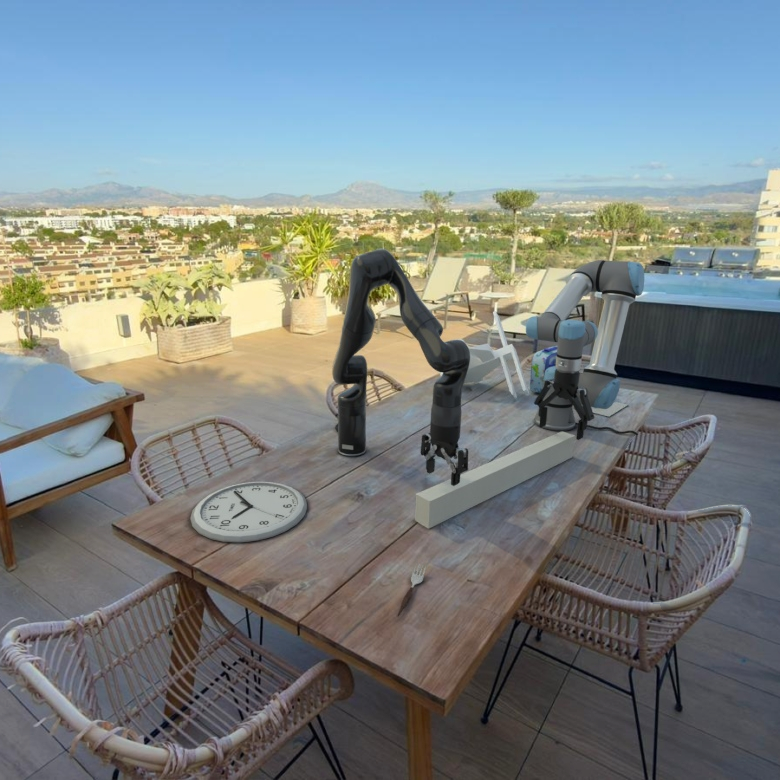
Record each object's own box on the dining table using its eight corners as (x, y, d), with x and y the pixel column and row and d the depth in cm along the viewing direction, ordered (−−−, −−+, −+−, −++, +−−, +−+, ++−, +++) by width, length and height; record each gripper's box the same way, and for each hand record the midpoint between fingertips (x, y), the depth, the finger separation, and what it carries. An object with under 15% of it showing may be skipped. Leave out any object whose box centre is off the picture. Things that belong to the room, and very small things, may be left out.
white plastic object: (461, 429, 252) (437, 405, 227) (444, 352, 274) (420, 323, 250) (535, 404, 240) (518, 377, 215) (510, 326, 262) (492, 293, 237)
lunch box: (546, 399, 235) (551, 353, 228) (525, 393, 242) (530, 349, 236) (574, 387, 252) (579, 345, 246) (553, 383, 260) (558, 341, 253)
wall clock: (302, 534, 126) (174, 538, 123) (303, 540, 126) (175, 544, 124) (310, 477, 154) (206, 479, 152) (310, 482, 155) (206, 484, 152)
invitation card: (608, 416, 214) (573, 407, 224) (608, 416, 214) (573, 408, 224) (628, 404, 229) (594, 396, 238) (628, 405, 229) (594, 397, 238)
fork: (391, 616, 102) (391, 608, 102) (415, 569, 116) (416, 561, 116) (404, 620, 101) (404, 611, 101) (426, 571, 116) (427, 564, 115)
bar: (559, 452, 179) (562, 431, 177) (572, 457, 176) (575, 435, 173) (414, 520, 136) (415, 493, 134) (428, 528, 132) (429, 501, 130)
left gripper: (415, 415, 133) (412, 472, 138) (457, 432, 123) (453, 493, 128) (435, 408, 137) (432, 464, 142) (477, 424, 127) (473, 484, 132)
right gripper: (526, 364, 171) (521, 424, 178) (598, 381, 153) (590, 447, 160) (540, 360, 175) (534, 418, 182) (611, 376, 158) (602, 440, 164)
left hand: (442, 478), depth 135 cm, fingers open, 8 cm apart
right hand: (560, 432), depth 171 cm, fingers open, 13 cm apart
